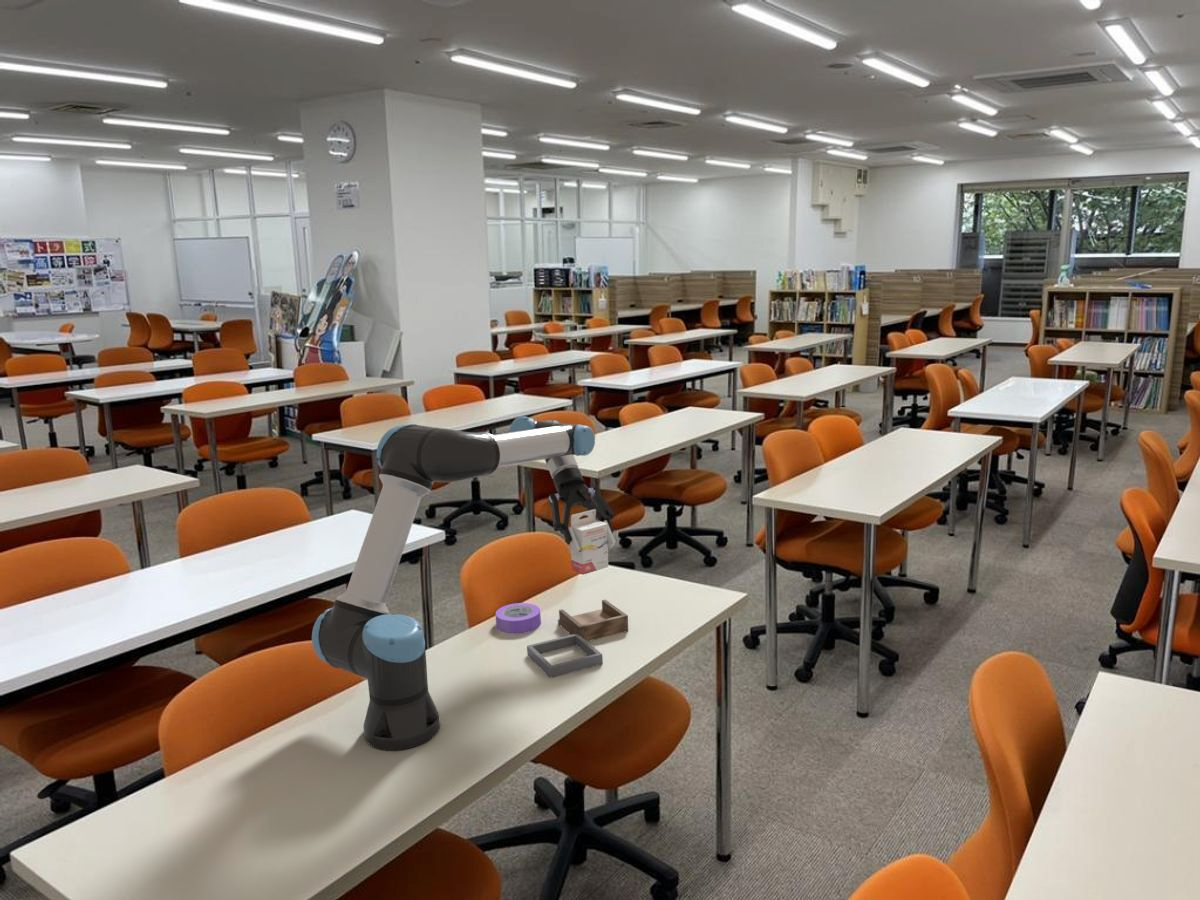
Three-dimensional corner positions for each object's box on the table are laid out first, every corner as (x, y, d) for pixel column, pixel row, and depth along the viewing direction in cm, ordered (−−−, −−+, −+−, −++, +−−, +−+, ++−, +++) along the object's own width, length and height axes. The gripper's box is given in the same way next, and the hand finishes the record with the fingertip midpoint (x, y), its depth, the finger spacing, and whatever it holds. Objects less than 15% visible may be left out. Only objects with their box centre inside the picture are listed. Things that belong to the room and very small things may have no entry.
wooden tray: (580, 643, 214) (579, 627, 213) (558, 623, 226) (557, 608, 225) (628, 631, 220) (627, 615, 219) (604, 612, 232) (603, 598, 231)
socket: (550, 678, 197) (549, 668, 196) (527, 655, 209) (526, 645, 208) (602, 664, 203) (602, 654, 202) (577, 642, 214) (577, 633, 214)
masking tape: (488, 631, 223) (487, 618, 222) (507, 614, 234) (506, 600, 233) (530, 636, 220) (529, 622, 219) (547, 618, 230) (546, 604, 230)
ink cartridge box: (583, 575, 215) (581, 519, 212) (571, 570, 219) (568, 514, 216) (609, 567, 220) (607, 511, 217) (597, 562, 224) (595, 507, 221)
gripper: (598, 475, 234) (628, 548, 223) (523, 487, 224) (551, 563, 214) (607, 460, 228) (638, 533, 217) (530, 472, 218) (559, 549, 208)
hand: (595, 548), depth 216 cm, fingers closed on ink cartridge box, 9 cm apart
